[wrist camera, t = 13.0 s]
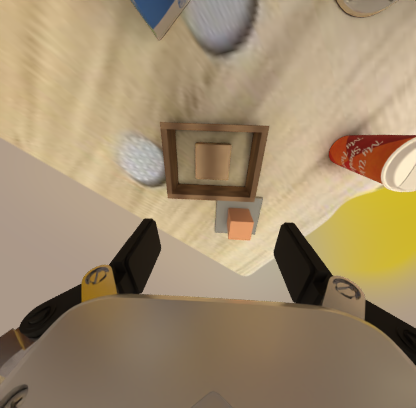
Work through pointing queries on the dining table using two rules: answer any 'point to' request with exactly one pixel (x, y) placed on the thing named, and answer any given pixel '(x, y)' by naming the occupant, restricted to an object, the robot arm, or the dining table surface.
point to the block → (239, 224)
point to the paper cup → (379, 158)
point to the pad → (225, 205)
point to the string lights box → (159, 13)
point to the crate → (212, 163)
